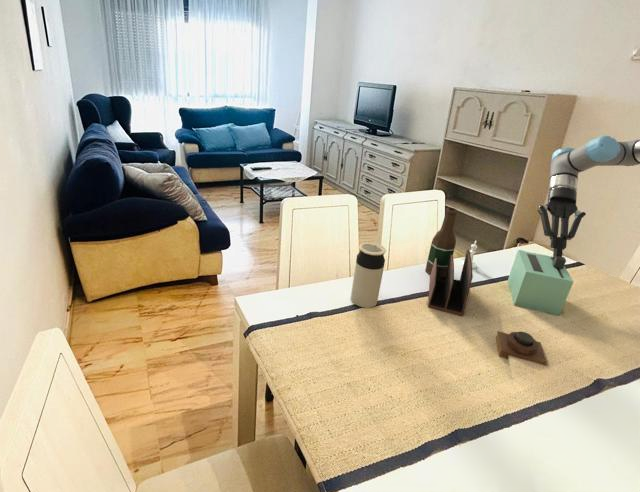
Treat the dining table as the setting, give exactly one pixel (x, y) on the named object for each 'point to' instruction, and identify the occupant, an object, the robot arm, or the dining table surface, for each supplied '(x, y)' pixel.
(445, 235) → the beer bottle
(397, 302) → the dining table surface
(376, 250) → the travel mug
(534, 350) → the button block
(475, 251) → the chess piece
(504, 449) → the dining table surface
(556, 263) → the toaster slider
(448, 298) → the letter holder
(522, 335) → the button
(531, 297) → the toaster
